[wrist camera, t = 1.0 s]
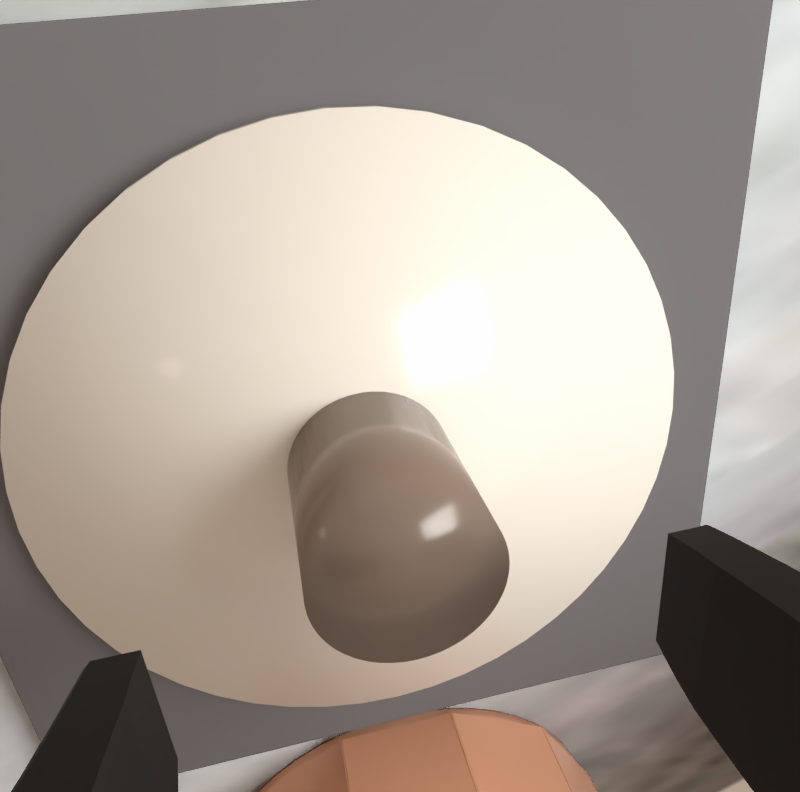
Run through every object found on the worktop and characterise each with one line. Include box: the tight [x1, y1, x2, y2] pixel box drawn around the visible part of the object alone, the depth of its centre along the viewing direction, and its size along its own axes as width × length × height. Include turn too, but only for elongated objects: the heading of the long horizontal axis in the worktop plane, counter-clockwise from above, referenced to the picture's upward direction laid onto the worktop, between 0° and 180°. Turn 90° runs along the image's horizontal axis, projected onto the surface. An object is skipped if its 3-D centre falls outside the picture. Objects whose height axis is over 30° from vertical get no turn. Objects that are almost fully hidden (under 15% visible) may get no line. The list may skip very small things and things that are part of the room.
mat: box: [0, 0, 773, 773], centre depth 14 cm, size 16×16×1 cm
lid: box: [0, 105, 674, 707], centre depth 12 cm, size 13×13×4 cm
